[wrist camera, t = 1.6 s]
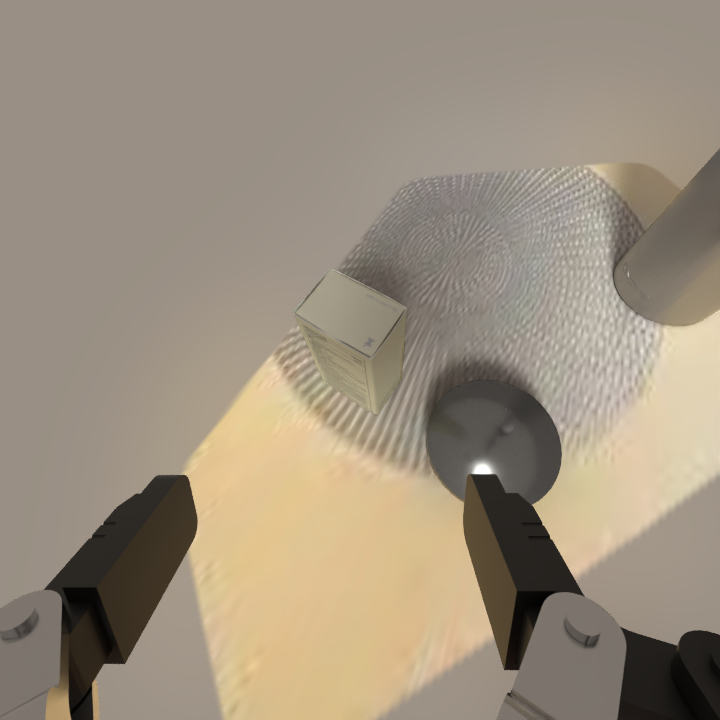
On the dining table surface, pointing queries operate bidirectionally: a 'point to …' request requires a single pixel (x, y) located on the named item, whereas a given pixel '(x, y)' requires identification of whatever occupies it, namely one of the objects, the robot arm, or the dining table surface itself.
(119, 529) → the robot arm
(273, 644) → the dining table surface
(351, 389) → the skincare box
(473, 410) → the dark gray bowl
